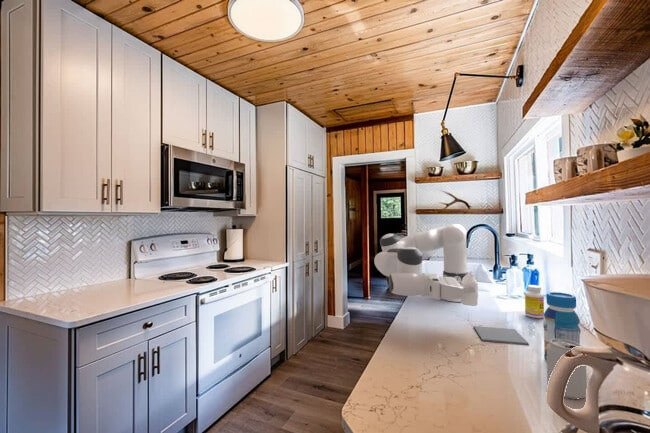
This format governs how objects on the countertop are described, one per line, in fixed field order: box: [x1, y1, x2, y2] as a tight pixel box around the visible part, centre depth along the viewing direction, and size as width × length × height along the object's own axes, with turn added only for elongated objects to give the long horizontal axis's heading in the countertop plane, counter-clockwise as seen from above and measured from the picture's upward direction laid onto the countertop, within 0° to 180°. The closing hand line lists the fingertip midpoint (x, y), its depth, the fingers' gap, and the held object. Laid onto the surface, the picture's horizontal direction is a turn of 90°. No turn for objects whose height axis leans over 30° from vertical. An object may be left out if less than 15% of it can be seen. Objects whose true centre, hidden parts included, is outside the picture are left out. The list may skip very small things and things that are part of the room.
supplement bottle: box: [524, 284, 545, 319], centre depth 129 cm, size 7×7×13 cm
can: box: [546, 339, 587, 400], centre depth 73 cm, size 8×8×12 cm
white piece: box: [460, 271, 479, 307], centre depth 111 cm, size 6×12×6 cm
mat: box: [473, 325, 530, 346], centre depth 108 cm, size 13×14×1 cm
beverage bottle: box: [543, 291, 581, 363], centre depth 87 cm, size 8×8×20 cm
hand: (472, 287), depth 111 cm, fingers closed on white piece, 6 cm apart
